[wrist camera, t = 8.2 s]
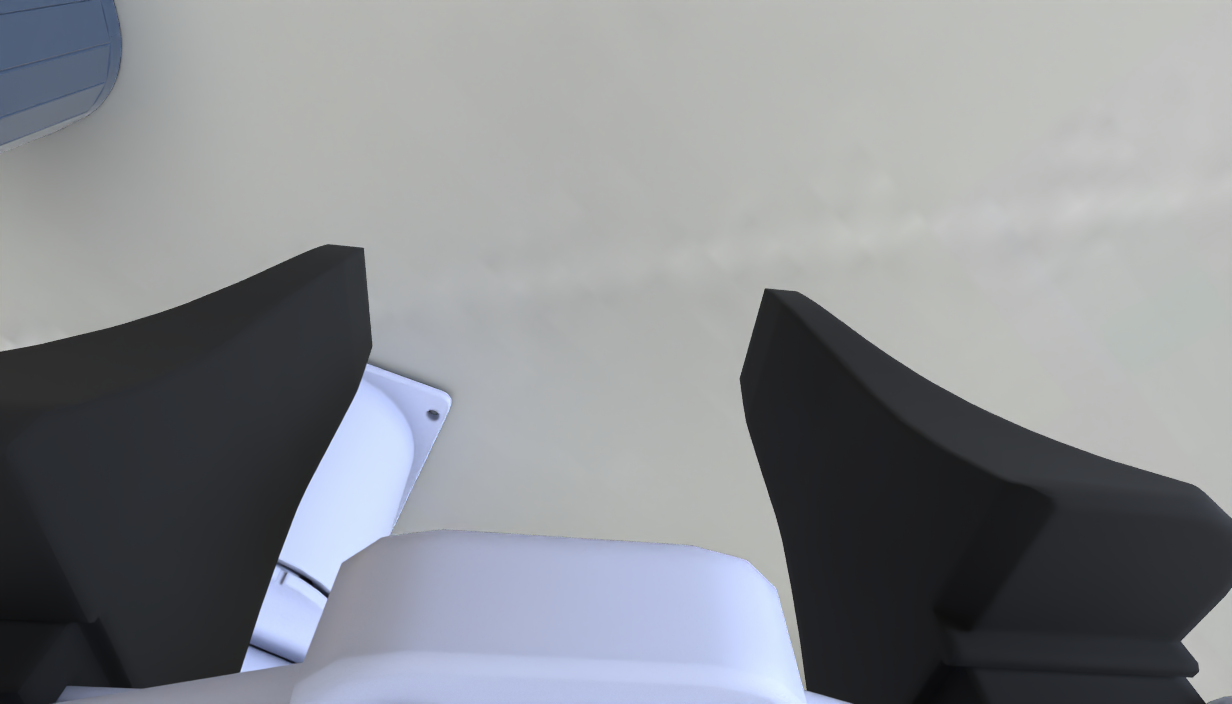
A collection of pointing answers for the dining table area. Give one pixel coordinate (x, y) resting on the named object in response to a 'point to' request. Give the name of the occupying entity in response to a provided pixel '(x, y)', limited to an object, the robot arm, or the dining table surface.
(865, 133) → the dining table surface
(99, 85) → the espresso cup
